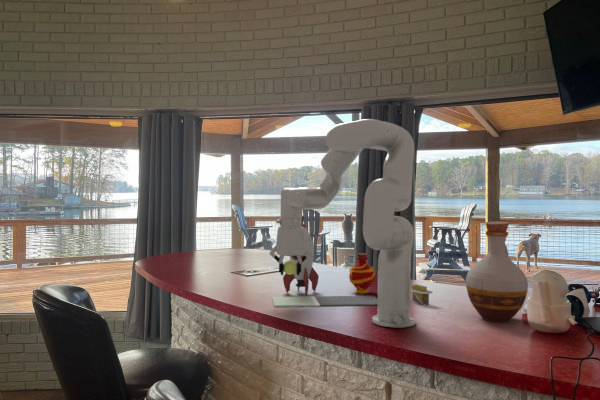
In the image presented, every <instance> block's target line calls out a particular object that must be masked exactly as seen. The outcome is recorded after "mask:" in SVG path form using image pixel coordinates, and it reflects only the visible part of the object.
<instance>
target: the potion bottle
mask: <svg viewBox="0 0 600 400" xmlns="http://www.w3.org/2000/svg"><path fill="white" fill-rule="evenodd" d="M368 255H369V254H368V253H364V252H361V253H360V252H359V253H357V257H356V259H357V260H358V262H357V263H356V264H355V265H352V266H351V268H350V269H349V271H348V272H349V277H348V279H349V283H351V285H353V286H354V287H355V288H356V289H355V291H354V292H355V293H358V294H368V293H369V291H368V289H369V288H370V287H371V286H372V285H373V283H374V282H375V279H376V271H375V269H374V267H373V266H371V265H369V264H368V262H367V261H368V259H369V257H368Z"/></svg>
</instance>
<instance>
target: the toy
mask: <svg viewBox="0 0 600 400" xmlns="http://www.w3.org/2000/svg"><path fill="white" fill-rule="evenodd" d="M304 220H305V216H304V215H302V227H304V232H305V246H306V247H307V249H308V250H309V251H310V253H311V255H310V256H309V257H308V258H306V259H305V260H304V261H303V262H302V264H301V273H299V275H297V273H296V272H297V271H296V272H295V273H294V274H292V275H288V274H286V273H284V274H283V277H282V281H283V285H284V286H283V287H284V289H285V293H286V294H288V293H289V292H290V291H291V283H292V282H293V281H294V280H296V281H297V282H296V284H295V287H297V290H298V291H299V290H300V288H304V293H305V294H304V295H305V297H308V293H309V283H310V282H311V290H312V291H313V292H316V289H317V286H318V283H319V274H318V273H317V271H316V270H315V269H314V266H313V265H314V246H313V245H314V241H312V236H311V234H310V233H309V230H308V228H307V226H306V224H304V222H303V221H304ZM305 254H306V252H305ZM305 254H304V255H305ZM304 255H302V256H301V258H302V257H303V256H304ZM289 260H291V261H294V262H295V263H296V264H297V261H298V259H297V256H289Z"/></svg>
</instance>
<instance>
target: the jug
mask: <svg viewBox="0 0 600 400" xmlns="http://www.w3.org/2000/svg"><path fill="white" fill-rule="evenodd" d="M509 224H510V223H509V222H508V221H487V222H485V226H486V227H485V228H486V229H487V231H485V236H487V241H488V251H487V254H486V255H484V256H483V257H482V258H481V259H480V260H479V261H478V262H477V263H476V264H475V265H473V266H472V267H471V268H470V269H469V271H468V272H467V274H466V278H465V286H466V292H467V296H468V298H469V301H470V303H471V305H472V307H474V309H475V310H476V312H477V313H478V315H479V316H480V317H481V318H482V319H483V320H485V321H489V322H495V323H496V322H497V323H506V322H510V321H511V320H512V319H513V318H514V317H515V316H516V315H517V313H518V312H519V311H521V309H522V308H523V305H524V304H525V301H526V298H527V295H528V289H529V282H528V278H527V276H526V274H525V273H524V271H523V270H521V268H520V267H519V266H517V264H515V262H514V261H512V260H511V258H510V257H509V252H508V250H509V249H508V247H507V244H506V240H507V237H508V235H509V231H507V230H508V227H509Z"/></svg>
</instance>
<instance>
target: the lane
mask: <svg viewBox="0 0 600 400" xmlns="http://www.w3.org/2000/svg"><path fill="white" fill-rule="evenodd" d="M271 298H272V303H273V307H274V308H286V307H287V308H289V307H291V308H292V307H295V308H297V307H298V306H299V308H300V306H305V307H357V306H360V307H362V306H363V307H364V306H367V307H368V306H372V307H373V306H378V297H376V296H375V295H337V296H336V295H326V296H325V295H324V296H323V295H321V296H317V295H316V296H313V295H312V296H308V295H307V296H272V297H271Z"/></svg>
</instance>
